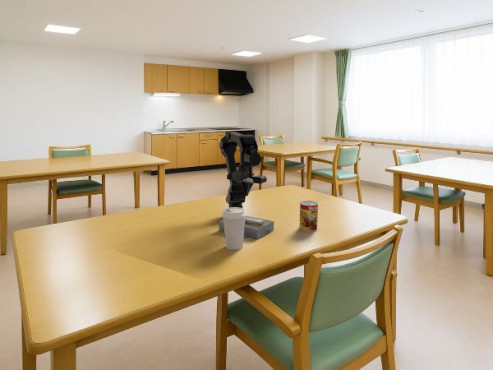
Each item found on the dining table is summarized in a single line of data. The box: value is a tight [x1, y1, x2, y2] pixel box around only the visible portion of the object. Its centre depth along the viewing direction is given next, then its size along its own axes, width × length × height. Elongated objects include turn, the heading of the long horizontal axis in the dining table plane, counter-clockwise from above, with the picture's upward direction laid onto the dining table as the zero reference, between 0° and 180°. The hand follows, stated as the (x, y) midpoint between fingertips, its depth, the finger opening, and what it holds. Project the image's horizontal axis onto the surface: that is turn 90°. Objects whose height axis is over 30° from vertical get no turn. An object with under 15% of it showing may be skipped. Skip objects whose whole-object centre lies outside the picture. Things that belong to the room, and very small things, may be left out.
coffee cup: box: [221, 207, 248, 251], centre depth 142 cm, size 10×10×15 cm
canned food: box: [299, 200, 319, 232], centre depth 164 cm, size 8×8×12 cm
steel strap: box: [245, 216, 264, 224], centre depth 162 cm, size 16×3×1 cm, turn 57°
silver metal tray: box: [218, 215, 275, 240], centre depth 162 cm, size 20×14×6 cm
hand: (246, 195), depth 171 cm, fingers closed
